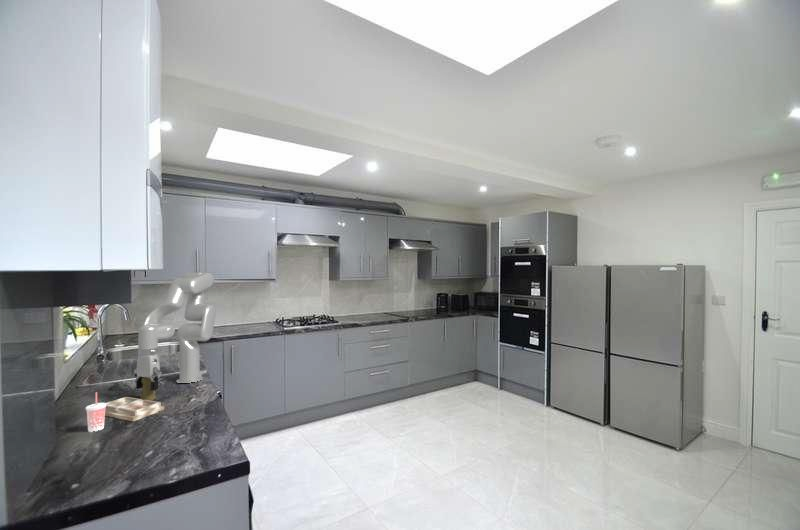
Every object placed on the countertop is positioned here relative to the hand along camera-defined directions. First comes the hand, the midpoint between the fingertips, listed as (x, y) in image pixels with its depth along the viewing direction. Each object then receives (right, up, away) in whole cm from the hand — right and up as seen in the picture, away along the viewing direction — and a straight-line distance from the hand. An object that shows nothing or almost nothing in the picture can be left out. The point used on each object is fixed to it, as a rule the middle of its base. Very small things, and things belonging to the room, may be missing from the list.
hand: (147, 389), depth 168 cm
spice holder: (+3, -5, -15) cm, 16 cm away
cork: (0, -5, 0) cm, 5 cm away
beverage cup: (+3, -5, -32) cm, 32 cm away
